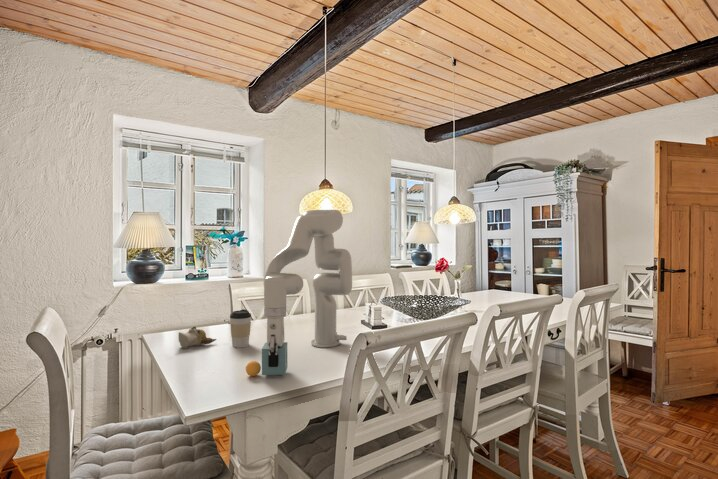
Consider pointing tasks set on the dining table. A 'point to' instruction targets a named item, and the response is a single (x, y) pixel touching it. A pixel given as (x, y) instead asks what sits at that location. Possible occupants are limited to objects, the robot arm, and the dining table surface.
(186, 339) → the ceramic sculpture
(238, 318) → the coffee cup
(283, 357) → the pale teal cube
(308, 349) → the dining table surface
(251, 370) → the ball
